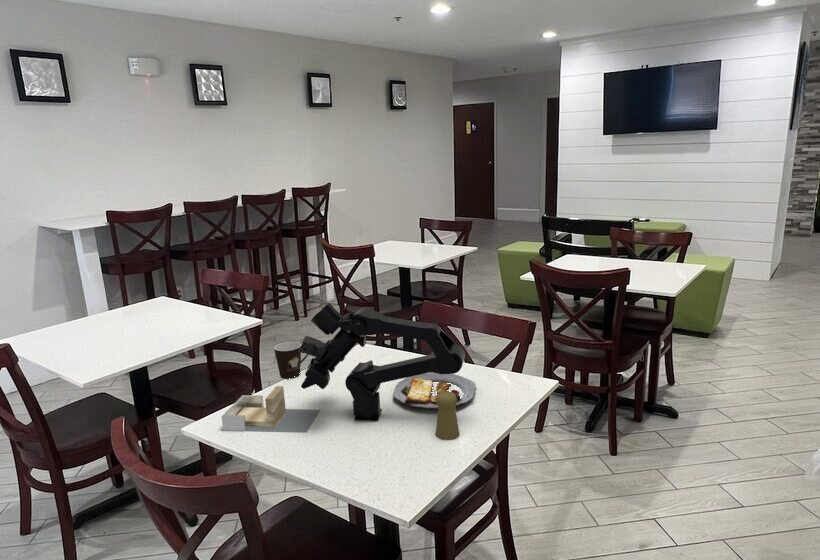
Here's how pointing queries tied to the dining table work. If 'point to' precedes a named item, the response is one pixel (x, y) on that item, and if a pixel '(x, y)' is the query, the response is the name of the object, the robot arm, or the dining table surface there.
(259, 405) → the frame
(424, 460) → the dining table surface
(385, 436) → the dining table surface
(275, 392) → the menu stand
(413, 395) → the food plate
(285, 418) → the rubber mat
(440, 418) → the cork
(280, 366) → the coffee mug
